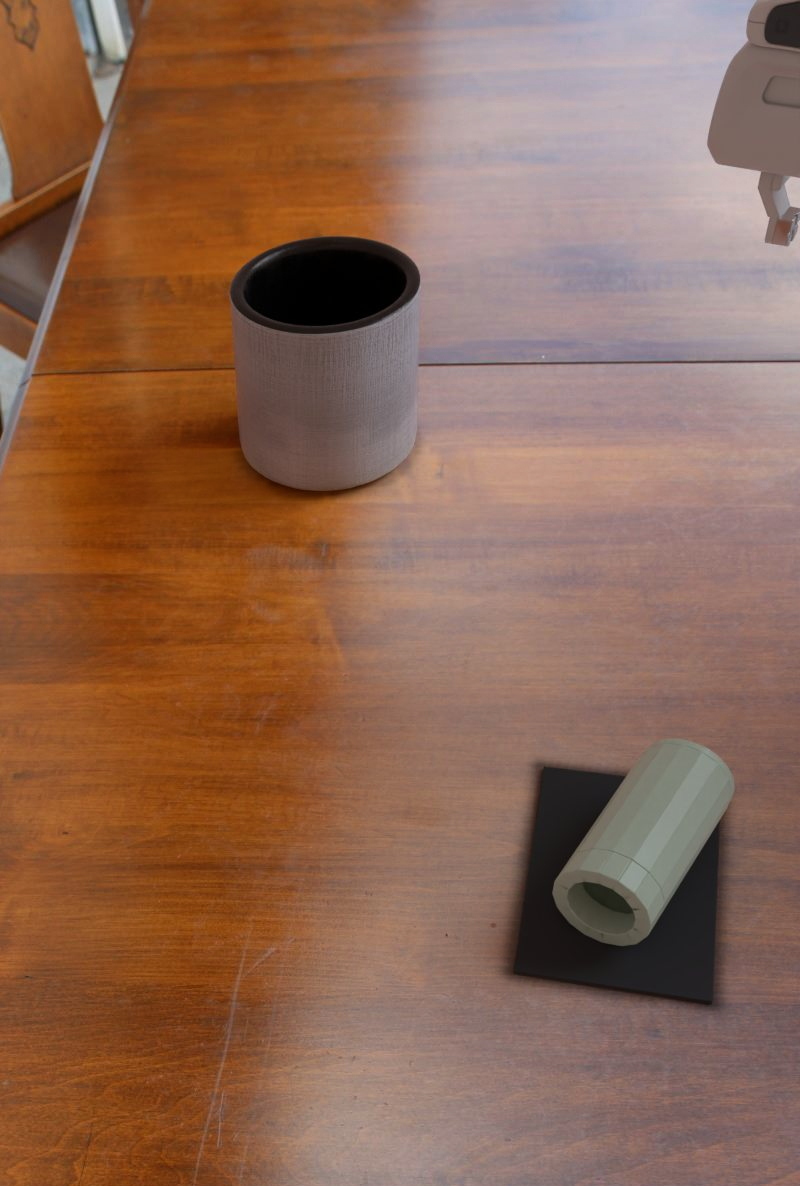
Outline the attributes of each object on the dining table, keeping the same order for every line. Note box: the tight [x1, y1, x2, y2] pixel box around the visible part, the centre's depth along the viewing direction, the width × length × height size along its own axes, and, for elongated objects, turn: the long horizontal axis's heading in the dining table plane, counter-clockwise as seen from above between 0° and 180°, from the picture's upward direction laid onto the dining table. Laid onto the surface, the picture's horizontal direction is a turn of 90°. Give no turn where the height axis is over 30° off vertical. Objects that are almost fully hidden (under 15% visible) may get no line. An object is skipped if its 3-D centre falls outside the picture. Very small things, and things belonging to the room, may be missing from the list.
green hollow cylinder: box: [552, 738, 735, 946], centre depth 85 cm, size 6×6×13 cm
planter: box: [228, 235, 422, 492], centre depth 115 cm, size 16×16×16 cm
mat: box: [513, 766, 721, 1005], centre depth 88 cm, size 18×12×1 cm, turn 165°
